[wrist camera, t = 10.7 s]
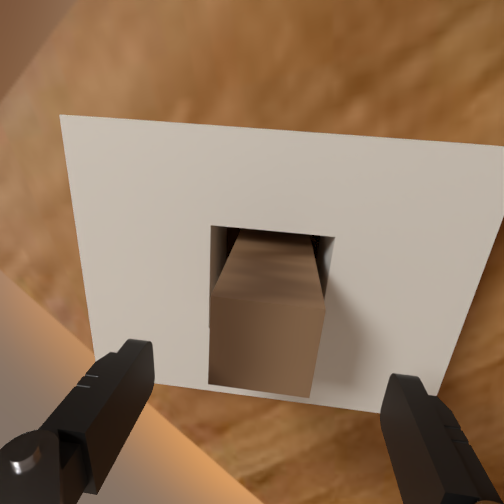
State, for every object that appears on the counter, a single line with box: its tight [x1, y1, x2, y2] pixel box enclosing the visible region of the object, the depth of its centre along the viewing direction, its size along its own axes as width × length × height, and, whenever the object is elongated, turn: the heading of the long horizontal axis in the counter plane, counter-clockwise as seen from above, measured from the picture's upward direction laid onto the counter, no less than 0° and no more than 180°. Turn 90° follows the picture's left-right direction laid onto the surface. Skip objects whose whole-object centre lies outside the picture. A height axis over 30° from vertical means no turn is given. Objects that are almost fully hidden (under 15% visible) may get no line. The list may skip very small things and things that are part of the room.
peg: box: [208, 228, 326, 398], centre depth 16 cm, size 4×4×10 cm
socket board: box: [59, 115, 504, 413], centre depth 19 cm, size 20×15×5 cm
